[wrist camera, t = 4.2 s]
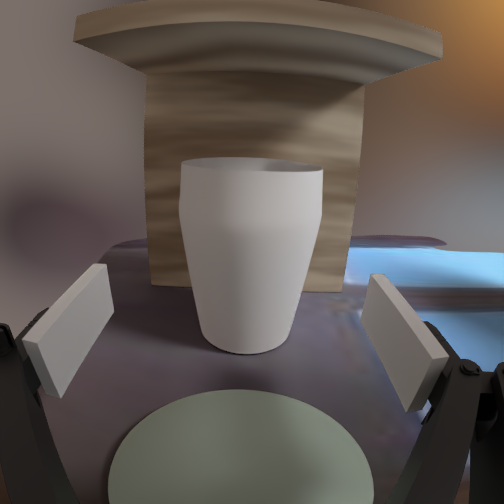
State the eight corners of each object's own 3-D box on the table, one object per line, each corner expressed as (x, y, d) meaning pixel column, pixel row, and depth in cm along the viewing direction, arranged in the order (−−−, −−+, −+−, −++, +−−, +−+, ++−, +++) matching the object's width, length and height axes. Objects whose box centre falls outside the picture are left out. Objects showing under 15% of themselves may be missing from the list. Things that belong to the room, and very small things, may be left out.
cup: (168, 356, 19) (153, 168, 15) (202, 293, 28) (201, 155, 23) (306, 373, 19) (335, 178, 14) (304, 303, 27) (319, 162, 23)
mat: (402, 447, 12) (405, 442, 12) (277, 641, 3) (278, 642, 3) (223, 367, 19) (222, 361, 19) (64, 474, 10) (61, 470, 10)
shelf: (383, 379, 18) (441, 33, 10) (104, 369, 17) (76, 16, 10) (337, 285, 30) (359, 71, 23) (155, 277, 30) (152, 62, 22)
